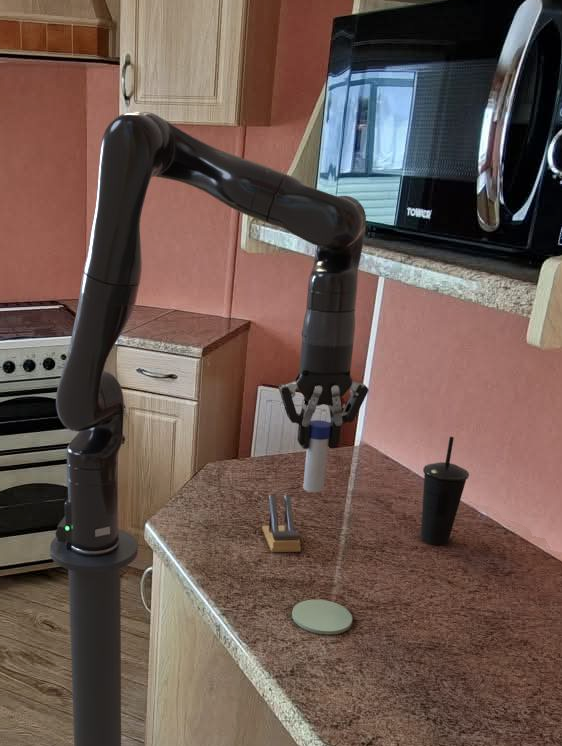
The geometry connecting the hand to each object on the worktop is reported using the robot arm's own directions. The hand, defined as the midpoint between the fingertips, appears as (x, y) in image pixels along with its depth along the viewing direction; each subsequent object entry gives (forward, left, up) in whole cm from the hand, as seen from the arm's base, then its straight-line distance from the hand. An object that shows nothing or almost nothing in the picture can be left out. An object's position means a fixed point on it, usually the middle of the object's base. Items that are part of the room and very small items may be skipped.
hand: (317, 446), depth 124 cm
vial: (-1, +3, -5) cm, 6 cm away
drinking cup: (+23, +20, -24) cm, 38 cm away
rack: (-5, +13, -23) cm, 27 cm away
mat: (+3, -12, -23) cm, 27 cm away
